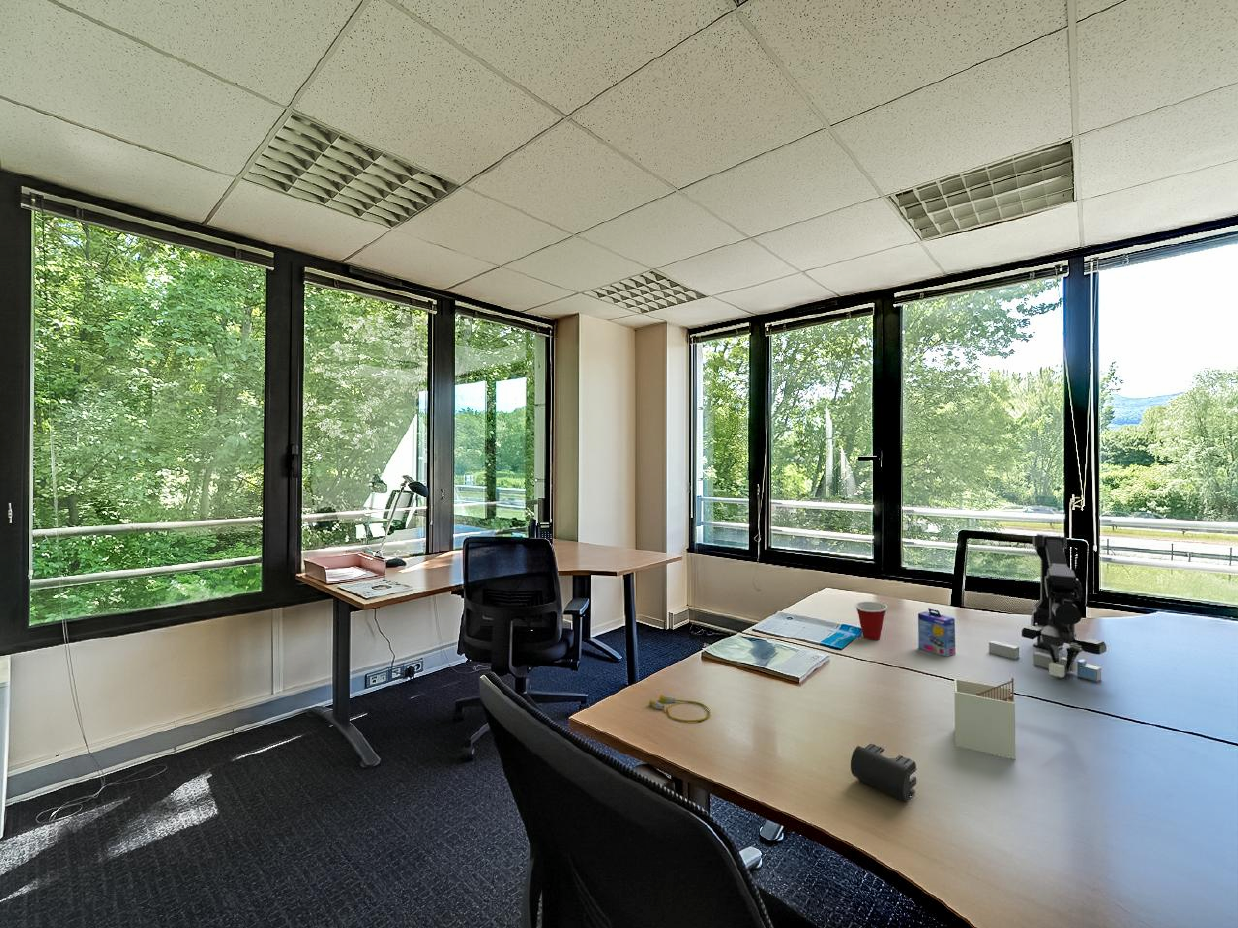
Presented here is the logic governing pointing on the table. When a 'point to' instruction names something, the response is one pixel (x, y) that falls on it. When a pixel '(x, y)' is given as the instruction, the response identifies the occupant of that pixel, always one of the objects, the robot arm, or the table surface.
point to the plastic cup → (871, 618)
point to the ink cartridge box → (936, 633)
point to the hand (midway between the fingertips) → (1062, 667)
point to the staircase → (985, 717)
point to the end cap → (884, 771)
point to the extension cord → (671, 700)
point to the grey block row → (1044, 660)
